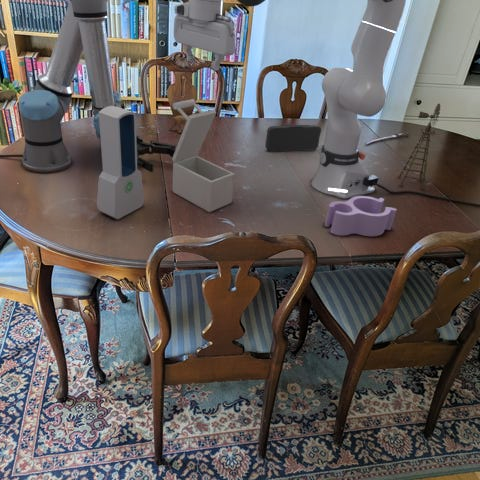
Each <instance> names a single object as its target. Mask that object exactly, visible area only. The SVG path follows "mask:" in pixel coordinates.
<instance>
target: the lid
mask: <svg viewBox="0 0 480 480" xmlns="http://www.w3.org/2000/svg"><path fill="white" fill-rule="evenodd" d="M189 107H194V108H195V110H196V111H197V110H198V111H199V112H200V113H198V114H194V115H192V114H190V115H188V114H186V112H185V111H184V110H183V109H186V108H189ZM172 109H174V110H175V111H176V110H177V111H178V112H179V113H180V114H181V116H183V117H185V118H186V120H187V122H186V124H185V125H184V127H183V130H182V133H181V134H180V137H179V140H178V142H177V146H176V150H175V153H174V155H173V157H171V160H172V162H173V163H175V162H178V161H180V160H183V159H188V158H191V157H194V156H198V155H199V153H200V151H201V148H202V146H203V143H204V142H205V140H206V137H207V135H208V132H209V130H210V128H211V127H212V123H213V122H214V120H215V117H216V115H217V112H216V110H215V109H211V110H208V111H203V110H202V109H201V108H200V107H199V106H198V105H197V104H196V100H195V98H194V99H193V98H192V99H187V100H182V101H177V102H173V103H172Z"/></svg>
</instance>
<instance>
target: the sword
mask: <svg viewBox="0 0 480 480" xmlns="http://www.w3.org/2000/svg"><path fill="white" fill-rule="evenodd" d="M402 134H403V133H398V134H397V133H394V134H392V135H389V136H383V137H379V138H376V139H372V140H369V141H367V142H366V146H368V145H371V144H373V143H377V142H381V141H384V140H389V139H393V138H400V137H402V136H404V135H402ZM408 135H409V136H410V133H409V134H406V135H405V136H408Z"/></svg>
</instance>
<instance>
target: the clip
mask: <svg viewBox="0 0 480 480" xmlns="http://www.w3.org/2000/svg"><path fill="white" fill-rule="evenodd" d="M384 201H385V198H383V197H379V198H376V197H373V196H368V195H359V196H355V197H350V198H349V200H347V201H339V200H338V201H337V200H335V201H332V202H330V203H329V205H328V208H327V214H326V218H325V222H324V227H326V228H329V227H330V226H331V227H330V233H331V234H333V235H336V236H348V235H353V234H356V235H360V236H364V237H365V236H366V237H378V236H381V235H382V234H384V232H385V230H387V231H391V229H392V226H393V222H394V219H395V216H396V213H397V210H398V209H397V208H395V207H391V206H385V207H384V211H383V212H382V209H383V206H384Z"/></svg>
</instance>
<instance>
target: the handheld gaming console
mask: <svg viewBox="0 0 480 480" xmlns="http://www.w3.org/2000/svg"><path fill="white" fill-rule="evenodd" d="M321 133H322V127H321V126H319V125H318V124H292V125H291V124H290V125H289V124H286V125H285V124H284V125H283V124H281V125H270V126H268V127H267V130H266V139H265V145H264V146H265V150H267V151H268V152H289V151H290V152H292V151H294V152H295V151H312V150H317V148H318V147H319V144H320V137H321Z"/></svg>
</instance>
